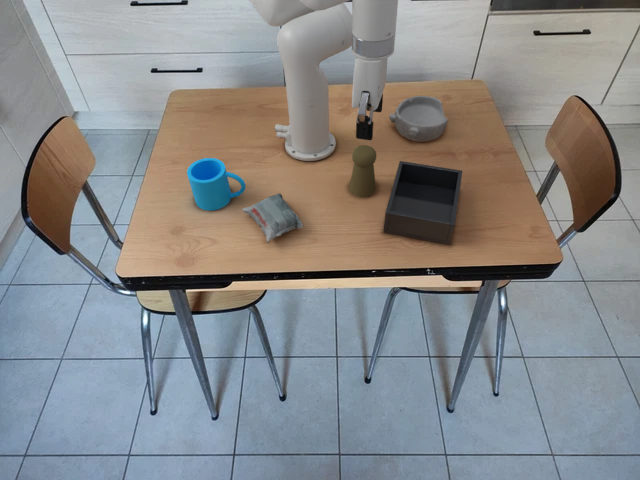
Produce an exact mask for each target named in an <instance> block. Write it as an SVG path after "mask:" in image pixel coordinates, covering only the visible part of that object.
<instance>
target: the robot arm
mask: <svg viewBox="0 0 640 480" xmlns="http://www.w3.org/2000/svg"><path fill="white" fill-rule="evenodd" d="M350 1H352V2H351V3H352V6H351V7H352V8H351V11H350V10H349V8H348V7H347V6H346V4H345V3H346V2H350ZM248 2H249V3H250V4H251V5H252V6H253V9H255V11H256V12H257V14H258V15H259V16H260V17H261V18H262V20H263V21H264V22H265V23H266V24H267V25H269V26H271V27H276V28H277V27H281V26H282V27H281V28H279V31H278V33H277V37H276V44H277V49H278V53H279V56H280V60H281V63H282V68H283V73H284V80H285V82H284V83H285V91H286V101H287V112H288V122H289V124H288V125H284V124H278V123H276V124H275V126H274V132H276V135H275V136H276V138H279V139H285V140H284V148H285V151H286V153H287V154H288V155H289V156H290V157H292V158H294V159H296V160H298V161H304V162H316V161H320V160H323V159H326V158H327V157H329V156H331V155H332V154H333V152H334V151H335V149H336V144H337V141H336V137H335V136H334V134H333V133H332V132H330V97H329V96H330V94H329V80H328V76H327V74H326V72H325V71H324V70H323V69H322V68H321V67H320V64H321V62H323V61H325V60H327V59H329V58H331V57H333V56H335V55H337V54H340V53H343V52H345V51H346V50H348V49H349V48H351V53H352V54H353V55H354V56H355V58H354V65H353V66H354V67H353V74H352V75H353V76H352V94H351V107H352V109H357V115H356V123H355V138H356V139H357V140H364V141H372V140H373V137H374V121H373V117H374V113H382V112H383V111H382V110H383V103H384V101H383V100H384V91H385V87H386V81H387V71H388V58H390V57H391V56H392V55H394V52H395V43H396V29H397V19H398V18H397V17H398V5H399V0H248ZM367 112H369V114H368V115H367Z"/></svg>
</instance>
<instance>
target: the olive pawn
mask: <svg viewBox="0 0 640 480" xmlns="http://www.w3.org/2000/svg"><path fill="white" fill-rule="evenodd" d="M351 159H352V163H353V167H352V172H351V177H350V182H349V186H348V187H349V192H350V193H351V194H352V195H354V196H355V197H358V198H368V197H371V196H372V195H374V194H375V193H376V191H377V190H376V189H377V187H376V177H375V176H376V175H375V165H374V164H375V162H376V160H377V151H376V149H375V148H374V147H373V146H371V145H368V144H359V145H358V146H356V147H354V149H353V151H352V152H351Z"/></svg>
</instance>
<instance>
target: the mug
mask: <svg viewBox="0 0 640 480" xmlns="http://www.w3.org/2000/svg"><path fill="white" fill-rule="evenodd" d="M186 175H187V179H188V181H189V186H190V188H191V191H192V192H191V193H192V195H193V198H194V202H195V204H196V206H197V208H199V209H201V210H203V211H217V210H220V209H223V208H224V207H226V206H227V205H228V204H230V202H231V200H232V199H233V198H237V197H239V196H241V195H242V194H244V192H245V191H246V185H247V183H246V182H245V180H244V179H243V178H242V177H241V176H239V175H237V174H236V173H234V172H230V171H227V168H226V165H225V163H224V162H223V161H222V160H221V159H218V158H215V157H204V158H200V159H198V160H195V161H194V162H192V163H191V164H190V165H189V166H188V168H187V170H186ZM229 178H230V179H234V180H235V181H237V182H238V184H240V189H239V190H238V191H235V192H232V191H231V186H230V181H229Z"/></svg>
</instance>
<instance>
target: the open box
mask: <svg viewBox="0 0 640 480" xmlns="http://www.w3.org/2000/svg"><path fill="white" fill-rule="evenodd" d="M462 177H463V170H461V169H456V168H455V169H454V168H448V167H442V166H435V165H428V164H423V163H416V162H412V161H411V162H408V161H403V160H399V162H398V165H397V170H396V173H395V177H394V180H393V184H392V188H391V191H390V195H389V199H388V202H387V205H386V209H385V213H384V223H383V232H382V233H383V234H389V235H392V236H399V237H405V238H410V239H414V240H420V241H426V242H431V243H436V244H442V245H447V246H450V245H451V241H452V237H453V234H454V229H455V226H456V219H457V212H458V205H459V198H460V192H461V184H462Z"/></svg>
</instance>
